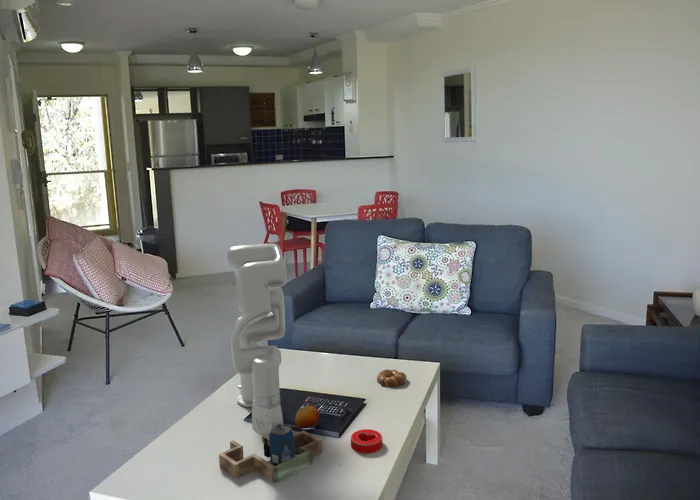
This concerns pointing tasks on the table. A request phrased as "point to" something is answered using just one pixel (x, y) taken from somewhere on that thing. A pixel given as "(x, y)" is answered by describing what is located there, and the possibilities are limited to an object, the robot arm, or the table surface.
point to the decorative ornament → (366, 441)
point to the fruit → (307, 417)
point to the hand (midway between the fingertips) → (270, 454)
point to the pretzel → (391, 378)
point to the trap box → (236, 467)
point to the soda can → (281, 445)
